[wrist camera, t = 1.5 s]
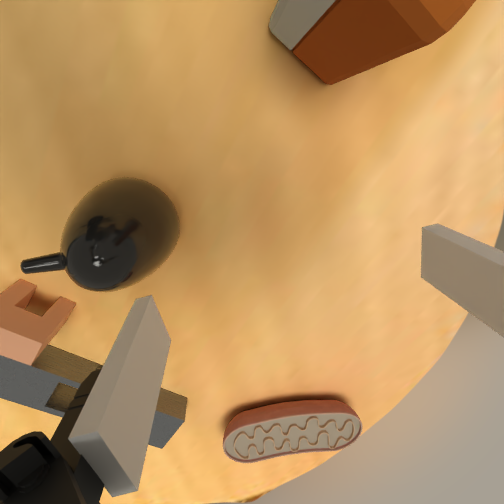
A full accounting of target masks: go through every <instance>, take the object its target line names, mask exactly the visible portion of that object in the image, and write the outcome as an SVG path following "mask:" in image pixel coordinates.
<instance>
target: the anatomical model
mask: <svg viewBox="0 0 504 504" xmlns="http://www.w3.org/2000/svg"><path fill="white" fill-rule="evenodd" d="M361 432H362V423H361V421H360V418H359V417H358V415H357V414H356V413H355V411H354V410H353V409H352V408H351V407H349V406H348V405H346V404H345V403H343V402H340V401H337V400H302V401H292V402H283V403H278V404H272V405H267V406H263V407H259V408H255V409H251V410H247V411H243V412H241V413H239V414H237V415H236V416H235V417H234V418H233V419H232V420H231V421H230V422H229V424H228V426H227V428H226V430H225V433H224V438H223V449H224V452H225V454H226V455H227V456H228V457H229V458H230V459H232V460H234V461H236V462H241V463H253V462H258V461H262V460H266V459H270V458H275V457H279V456H285V455H291V454H298V453H307V452H323V451H337V450H340V449H344V448H346V447H348V446H350V445H351V444H352V443H354V442H355V441H356V440H357V439H358V437H359V436H360V434H361Z"/></svg>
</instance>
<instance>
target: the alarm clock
mask: <svg viewBox="0 0 504 504" xmlns="http://www.w3.org/2000/svg"><path fill="white" fill-rule="evenodd" d="M475 1H476V0H278V2H277V5H276V7H275V9H274V11H273V13H272V16H271V18H270V22H269V28H270V30H271V32H272V33H273V34H274V35H275V36H276V37H277V38H278V39H279V40H280V41H281V42H282V43H283V44H284V45H285V46H286V47H287V48H288V49H290V50H292V49H293V53H294V54H295V55H296V56H297V57H298V58H299V59H300V60H301V61H302V62H303V63H304V64H305V65H307V66H308V67H309V68H310V69H311V70H312V71H313V72H314V73H315V74H316V75H317V76H318V77H319V78H320V79H321V80H322V81H324V82H325V83H326V84H330V85H332V84H334V83H337V82H339V81H342V80H344V79H346V78H349V77H351V76H354V75H356V74H359V73H361V72H363V71H366V70H368V69H371V68H373V67H375V66H378V65H380V64H383V63H385V62H388V61H390V60H392V59H395V58H397V57H400V56H402V55H404V54H407V53H409V52H412V51H414V50H417V49H419V48H422V47H424V46H426V45H429V44H431V43H432V42H434V41H435V40H437V39H438V38H440V37H441V36H442V35H444V34H445V33H447V32H448V31H449V30H450V29H451V28H452V27H453V26H454V25H455V24H456V23H457V22H458V21H459V20H460V19H461V18H462V17H463V16H464V15H465V13H466V12H467V11H468V10H469V8H470V7H471V6H472V4H473V3H474V2H475Z"/></svg>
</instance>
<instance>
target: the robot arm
mask: <svg viewBox="0 0 504 504" xmlns="http://www.w3.org/2000/svg"><path fill="white" fill-rule="evenodd" d="M421 278H423V279H424V280H425V281H427V282H428V283H430V284H431V285H432V286H434V287H435V288H436V289H438V290H439V291H441V292H442V293H443V294H445V295H446V296H447V297H449V298H450V299H452V300H453V301H454V302H456V303H457V304H458V305H460V306H461V307H463V308H464V309H465V310H467V311H468V312H469V313H471V314H472V315H474V316H475V317H476V318H478V319H479V320H481V321H482V322H483V323H485V324H486V325H488V326H489V327H490V328H491V329H493V330H494V331H496V332H497V333H498V334H500V335H501V336H502V337H504V252H503V251H501V250H498V249H496V248H494V247H491V246H489V245H487V244H484V243H482V242H480V241H477V240H475V239H473V238H470V237H468V236H466V235H463V234H461V233H459V232H456V231H454V230H452V229H449V228H447V227H445V226H442V225H440V224H434V225H430V226H426V227H422V252H421ZM170 343H171V339H170V336H169V334H168V332H167V330H166V327H165V325H164V323H163V320H162V318H161V316H160V313H159V311H158V309H157V306H156V304H155V302H154V299H153V297H152V295H150V296H146V297H142V298H138V299H135V301H134V304H133V306H132V308H131V310H130V312H129V314H128V316H127V318H126V320H125V322H124V324H123V326H122V328H121V330H120V332H119V334H118V337H117V339H116V341H115V343H114V345H113V347H112V349H111V351H110V353H109V355H108V357H107V359H106V361H105V363H104V365H103V367H102V369H100V370H96V371H92V372H91V373H90V375H89V376H88V377H87V378H86V379H85V380H84V381H83V382H82V383H81V385H80V386H79V388H78V390H77V392H76V394H75V396H74V400H72V401H71V403H70V405H69V407H68V411H66V412H65V414H64V416H63V418H62V420H61V422H60V424H59V425H58V427H57V429H56V431H55V433H54V435H53V437H52V438H51V440H49V439H48V438H47V437H46V435H45V434H44V433H43V432H35V431H34V432H31V433H28V434H25V435H23V436H21V437H20V438H18V439H16V440H15V441H13V442H12V443H10V444H9V445H8V446H7V447H6V448H4V449H3V450H2V451H1V452H0V504H100V503H99V501H100V497H101V494H102V491H103V488H104V487H105V488H106V489H107V491H108V492H109V493H110V495H111V496H112V497H115V496H119V495H123V494H127V493H131V492H135V491H138V487H139V483H140V478H141V474H142V469H143V465H144V460H145V456H146V451H147V447H148V442H149V438H150V433H151V429H152V424H153V420H154V415H155V411H156V406H157V402H158V397H159V393H160V388H161V384H162V379H163V375H164V370H165V365H166V361H167V356H168V352H169V347H170Z"/></svg>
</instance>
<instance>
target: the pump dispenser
mask: <svg viewBox="0 0 504 504" xmlns="http://www.w3.org/2000/svg"><path fill="white" fill-rule="evenodd" d="M179 234H180V222H179V217H178V213H177V211H176V209H175V207H174V205H173V203H172V202H171V200H170V199H169V198H168V197H167V195H166V194H165V193H164V192H162V191H161V190H160V189H159V188H157V187H156V186H154V185H152V184H151V183H148V182H146V181H143V180H140V179H136V178H128V177H122V178H115V179H111V180H108V181H105V182H103V183H101V184H99V185H98V186H96V187H95V188H93V189H92V190H91V191H89V192H88V193H87V194H86V195H85V196H84V197H83V198H82V199H81V200H80V202H79V203H78V204H77V205H76V207H75V208H74V209H73V211H72V212H71V214H70V216H69V218H68V220H67V222H66V224H65V227H64V230H63V233H62V238H61V250H60V252H58V253H54V254H49V255H44V256H40V257H35V258H30V259H26V260H23V261H22V262H21V270H22V271H23V272H24V273H25V274H29V273H39V272H48V271H57V270H65V271H66V273H67V274H68V276H69V277H70V278H71V279H72V280H73V281H74V282H75V283H76V284H77V285H78V286H80V287H82V288H84V289H87V290H90V291H95V292H112V291H117V290H121V289H124V288H127V287H130V286H132V285H134V284H136V283H138V282H140V281H141V280H143V279H145V278H146V277H148V276H149V275H151V274H152V273H153V272H155V271H156V270H157V269H158V268H159V267H160V266H161V265H162V264H163V263H164V262H165V261H166V260H167V259H168V258H169V256H170V255H171V254H172V252H173V250H174V249H175V247H176V244H177V242H178V238H179Z"/></svg>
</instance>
